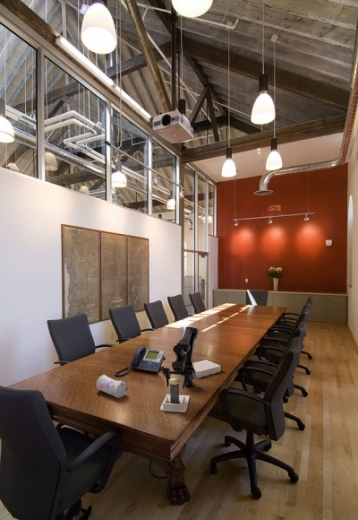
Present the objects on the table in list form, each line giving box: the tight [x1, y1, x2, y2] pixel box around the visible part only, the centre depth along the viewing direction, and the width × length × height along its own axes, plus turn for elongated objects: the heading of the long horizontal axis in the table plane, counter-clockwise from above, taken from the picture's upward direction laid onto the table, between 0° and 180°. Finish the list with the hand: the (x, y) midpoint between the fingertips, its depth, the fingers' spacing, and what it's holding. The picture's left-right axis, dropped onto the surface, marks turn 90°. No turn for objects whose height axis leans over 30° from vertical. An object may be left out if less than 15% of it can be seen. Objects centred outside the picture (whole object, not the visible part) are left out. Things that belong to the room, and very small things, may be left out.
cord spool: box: [169, 377, 181, 404], centre depth 152 cm, size 6×6×13 cm
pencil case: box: [95, 374, 128, 399], centre depth 170 cm, size 21×9×10 cm, turn 54°
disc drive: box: [192, 358, 223, 379], centre depth 205 cm, size 18×22×5 cm
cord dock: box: [159, 394, 191, 413], centre depth 155 cm, size 17×14×4 cm
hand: (175, 387), depth 154 cm, fingers open, 9 cm apart
